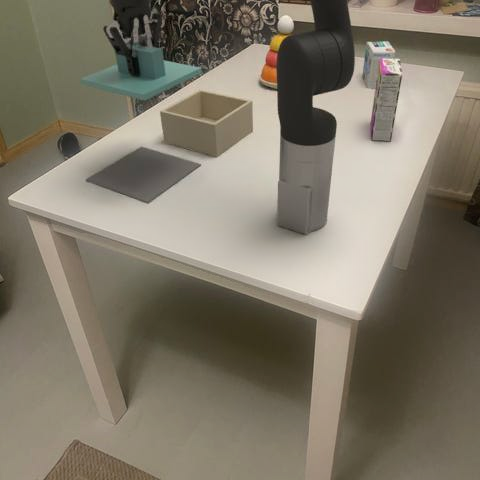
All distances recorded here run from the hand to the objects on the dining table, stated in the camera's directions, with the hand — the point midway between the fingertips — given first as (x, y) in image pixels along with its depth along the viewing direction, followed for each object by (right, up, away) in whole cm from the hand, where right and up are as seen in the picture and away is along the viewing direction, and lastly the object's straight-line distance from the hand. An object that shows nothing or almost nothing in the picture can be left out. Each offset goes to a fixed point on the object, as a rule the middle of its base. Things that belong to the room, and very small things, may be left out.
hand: (141, 72), depth 94 cm
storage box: (+12, -7, +24) cm, 28 cm away
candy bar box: (+55, -7, +24) cm, 60 cm away
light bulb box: (+61, +15, +51) cm, 81 cm away
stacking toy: (+33, +15, +53) cm, 64 cm away
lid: (0, -1, +1) cm, 1 cm away
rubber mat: (-2, -19, +11) cm, 21 cm away
